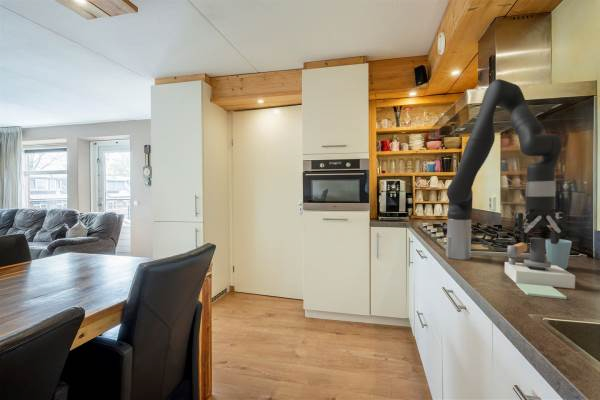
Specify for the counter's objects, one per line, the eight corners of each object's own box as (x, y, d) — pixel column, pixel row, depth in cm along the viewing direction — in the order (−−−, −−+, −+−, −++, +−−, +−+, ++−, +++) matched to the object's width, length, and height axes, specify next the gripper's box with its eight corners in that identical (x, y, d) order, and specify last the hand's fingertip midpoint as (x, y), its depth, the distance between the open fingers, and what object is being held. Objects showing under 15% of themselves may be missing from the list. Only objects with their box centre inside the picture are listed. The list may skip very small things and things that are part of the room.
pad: (527, 295, 83) (527, 293, 83) (516, 285, 92) (516, 283, 92) (566, 299, 80) (566, 297, 80) (551, 288, 88) (551, 286, 88)
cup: (574, 271, 105) (575, 243, 105) (547, 268, 109) (548, 241, 108) (566, 266, 112) (567, 239, 112) (541, 263, 116) (542, 238, 115)
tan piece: (515, 257, 99) (515, 247, 99) (506, 256, 102) (506, 246, 101) (528, 251, 108) (528, 242, 108) (519, 250, 110) (519, 241, 110)
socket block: (516, 283, 93) (516, 263, 93) (504, 272, 104) (504, 255, 104) (574, 288, 88) (575, 268, 88) (555, 276, 99) (556, 258, 99)
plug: (528, 282, 94) (529, 239, 94) (520, 275, 101) (521, 236, 100) (554, 284, 92) (556, 241, 91) (544, 277, 98) (546, 237, 98)
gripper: (523, 195, 93) (522, 245, 93) (573, 194, 90) (572, 246, 91) (510, 195, 100) (509, 241, 101) (556, 194, 98) (555, 241, 98)
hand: (539, 243), depth 96 cm, fingers open, 8 cm apart
